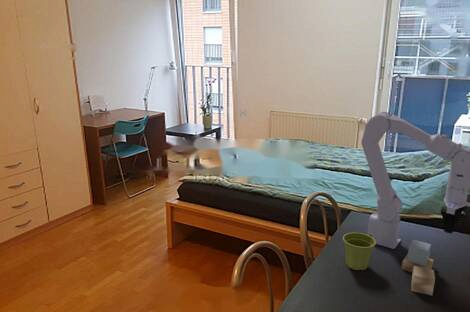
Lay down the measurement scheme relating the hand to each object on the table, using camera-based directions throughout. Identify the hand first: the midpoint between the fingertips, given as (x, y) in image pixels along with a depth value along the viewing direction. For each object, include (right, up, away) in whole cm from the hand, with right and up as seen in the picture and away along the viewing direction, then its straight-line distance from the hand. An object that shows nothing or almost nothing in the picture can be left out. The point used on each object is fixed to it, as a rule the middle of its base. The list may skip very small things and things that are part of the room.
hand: (450, 228), depth 117 cm
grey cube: (-12, -9, -5) cm, 16 cm away
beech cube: (-16, -14, -14) cm, 25 cm away
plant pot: (-30, -11, -3) cm, 32 cm away
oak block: (-12, -12, -4) cm, 17 cm away
